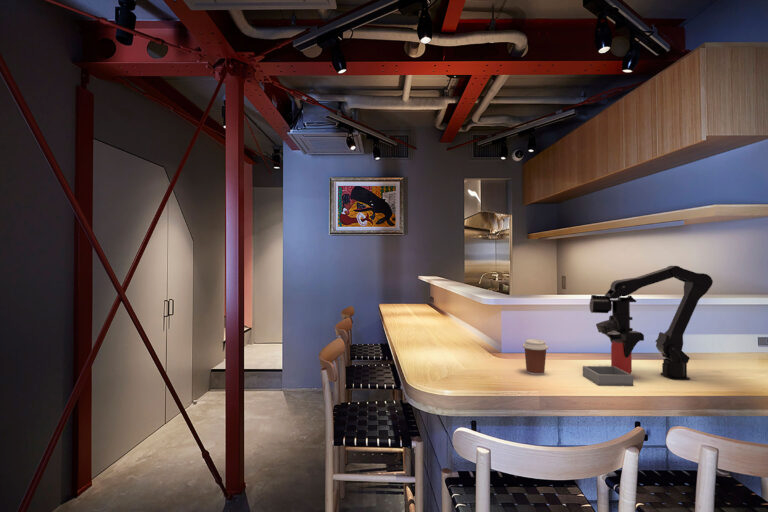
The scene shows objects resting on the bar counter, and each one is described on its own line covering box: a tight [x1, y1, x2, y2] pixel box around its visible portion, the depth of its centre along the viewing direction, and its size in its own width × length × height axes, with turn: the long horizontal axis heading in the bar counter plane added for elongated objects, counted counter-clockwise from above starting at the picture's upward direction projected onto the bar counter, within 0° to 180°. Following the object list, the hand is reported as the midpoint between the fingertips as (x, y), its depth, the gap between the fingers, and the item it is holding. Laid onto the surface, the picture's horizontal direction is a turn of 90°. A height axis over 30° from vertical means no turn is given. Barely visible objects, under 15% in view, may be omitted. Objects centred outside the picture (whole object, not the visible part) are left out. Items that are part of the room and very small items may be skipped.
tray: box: [582, 365, 634, 387], centre depth 140 cm, size 12×12×4 cm
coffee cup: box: [522, 338, 549, 376], centre depth 150 cm, size 9×9×12 cm
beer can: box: [610, 339, 633, 375], centre depth 149 cm, size 7×7×12 cm
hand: (621, 355), depth 149 cm, fingers closed on beer can, 6 cm apart
